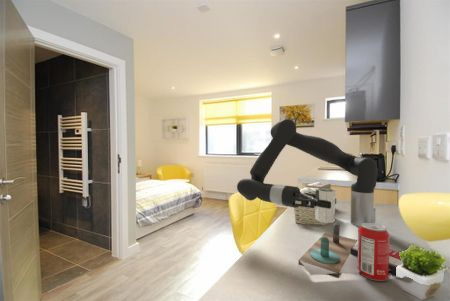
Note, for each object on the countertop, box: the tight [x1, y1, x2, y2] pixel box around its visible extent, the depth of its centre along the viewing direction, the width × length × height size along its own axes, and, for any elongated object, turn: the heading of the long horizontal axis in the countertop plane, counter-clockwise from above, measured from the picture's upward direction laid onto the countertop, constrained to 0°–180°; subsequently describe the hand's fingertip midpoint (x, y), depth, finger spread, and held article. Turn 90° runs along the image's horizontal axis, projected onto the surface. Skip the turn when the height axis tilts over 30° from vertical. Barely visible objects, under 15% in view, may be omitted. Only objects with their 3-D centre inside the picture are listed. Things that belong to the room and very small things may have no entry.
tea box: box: [304, 181, 332, 189], centre depth 141 cm, size 15×10×15 cm
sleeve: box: [315, 188, 336, 224], centre depth 75 cm, size 6×6×10 cm
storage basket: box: [293, 187, 329, 226], centre depth 118 cm, size 24×16×15 cm
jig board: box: [298, 222, 358, 279], centre depth 81 cm, size 30×12×8 cm, turn 140°
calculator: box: [349, 244, 402, 277], centre depth 75 cm, size 11×4×15 cm
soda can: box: [357, 222, 391, 282], centre depth 67 cm, size 8×8×15 cm
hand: (333, 203), depth 74 cm, fingers closed on sleeve, 5 cm apart
